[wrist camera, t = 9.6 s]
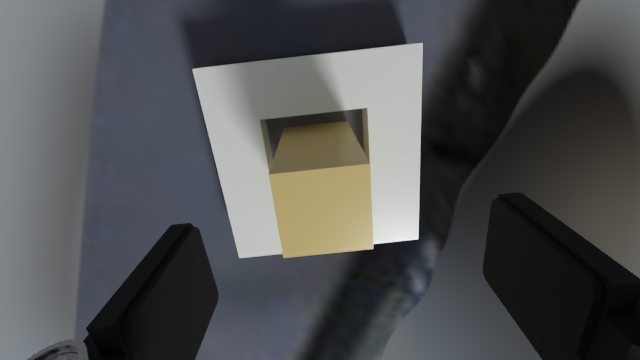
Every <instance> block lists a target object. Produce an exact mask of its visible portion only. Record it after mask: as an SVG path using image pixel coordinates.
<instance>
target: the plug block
mask: <svg viewBox="0 0 640 360" xmlns="http://www.w3.org/2000/svg"><path fill="white" fill-rule="evenodd" d="M269 180H270V185H271V191H272V197H273V202H274V208H275V214H276V219H277V225H278V230H279V236H280V242H281V247H282V253H283V258H289V257H299V256H308V255H318V254H328V253H338V252H348V251H357V250H367V249H374V247H373V221H372V196H371V171H370V162H369V161H368V159H367V157H366V155H365V153H364V151H363V149H362V148H361V146H360V144H359V142H358V140H357V138H356V136H355V134H354V133H353V131H352V129H351V127H350V125H349V123H348V121H342V122H333V123H324V124H314V125H305V126H295V127H286V128H284V130H283V133H282V136H281V139H280V142H279V145H278V148H277V151H276V154H275V157H274V160H273V163H272V166H271V169H270V172H269Z"/></svg>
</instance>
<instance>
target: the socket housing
mask: <svg viewBox="0 0 640 360" xmlns="http://www.w3.org/2000/svg"><path fill="white" fill-rule="evenodd" d="M422 58H423V43H413V44H402V45H394V46H385V47H376V48H367V49H358V50H350V51H341V52H332V53H323V54H314V55H305V56H297V57H288V58H279V59H270V60H261V61H253V62H244V63H235V64H226V65H217V66H208V67H202V68H195V69H192V71H193V75H194V79H195V83H196V87H197V91H198V95H199V99H200V103H201V107H202V111H203V115H204V119H205V123H206V127H207V131H208V135H209V139H210V143H211V147H212V151H213V155H214V159H215V163H216V167H217V171H218V175H219V179H220V183H221V187H222V191H223V195H224V199H225V203H226V207H227V211H228V215H229V219H230V223H231V227H232V231H233V235H234V239H235V243H236V247H237V251H238V255H239V258H247V257H256V256H266V255H275V254H283V253H282V247H281V242H280V236H279V230H278V225H277V219H276V214H275V208H274V202H273V197H272V191H271V185H270V180H269V172H270V169H271V166H272V163H273V160H274V157H275V154H276V151H277V148H278V145H279V142H280V139H281V136H282V133H283V130H284V128H286V127H295V126H305V125H314V124H324V123H333V122H342V121H348V123H349V125H350V127H351V129H352V131H353V133H354V134H355V136H356V138H357V140H358V142H359V144H360V146H361V148H362V149H363V151H364V153H365V155H366V157H367V159H368V161H369V162H370V171H371V196H372V221H373V244H379V243H388V242H398V241H407V240H417V239H418V237H419V192H420V147H421V102H422Z"/></svg>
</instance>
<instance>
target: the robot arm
mask: <svg viewBox="0 0 640 360" xmlns="http://www.w3.org/2000/svg"><path fill="white" fill-rule="evenodd" d="M483 274H484V277H485V279H486V281H487V282H488V284H489V285H490V287H491V288H492V290H493V291H494V292H495V294H496V295H497V297H498V298H499V299H500V301H501V302H502V304H503V305H504V306H505V308H506V309H507V311H508V312H509V313H510V315H511V316H512V318H513V319H514V320H515V322H516V323H517V324H518V326H519V327H520V329H521V330H522V331H523V333H524V334H525V336H526V337H527V339H528V340H529V341H530V343H531V344H532V346H533V347H534V349H535V350H536V351H537V352H538V354H539V355H540V357H541V358H542V360H640V279H639V278H638V277H637V276H635V275H634V274H633V273H631V272H630V271H628V270H627V269H625V268H624V267H623V266H622V265H620V264H619V263H617V262H616V261H615V260H613V259H612V258H611V257H609V256H608V255H606V254H605V253H604V252H602V251H601V250H600V249H598V248H597V247H595V246H594V245H593V244H591V243H590V242H589V241H587V240H586V239H584V238H583V237H582V236H580V235H579V234H578V233H576V232H575V231H573V230H572V229H571V228H569V227H568V226H567V225H565V224H564V223H562V222H561V221H560V220H558V219H557V218H556V217H554V216H553V215H551V214H550V213H549V212H547V211H546V210H544V209H543V208H542V207H540V206H539V205H538V204H536V203H535V202H534V201H532V200H531V199H529V198H528V197H527V196H525V195H524V194H522V193H508V194H500V195H498V197H497V199H494V200H493V201H492V203H491V210H490V217H489V225H488V233H487V240H486V248H485V255H484V263H483ZM217 302H218V290H217V286H216V283H215V280H214V277H213V273H212V270H211V267H210V264H209V260H208V257H207V254H206V250H205V247H204V244H203V241H202V237H201V234H200V231H199V229H198V228H197V227H194V226H193V225H192V224H191V223H186V224H176V225H171V226H170V227H169V228H168V229H167V231H166V232H165V233H164V234H163V235H162V237H161V238H160V239H159V240H158V241H157V243H156V244H155V245H154V246H153V248H152V249H151V250H150V251H149V252H148V254H147V255H146V256H145V257H144V258H143V260H142V261H141V262H140V263H139V265H138V266H137V267H136V268H135V269H134V271H133V272H132V273H131V274H130V276H129V277H128V278H127V279H126V280H125V282H124V283H123V284H122V285H121V286H120V288H119V289H118V290H117V291H116V293H115V294H114V295H113V296H112V297H111V299H110V300H109V301H108V302H107V303H106V305H105V306H104V307H103V308H102V310H101V311H100V312H99V313H98V314H97V316H96V317H95V318H94V319H93V321H92V322H91V323H90V324H89V325H88V327H87V328H86V329H87V331H88V333H89V335H88V336H87V337H86V338H85V340H84V341H83V342H82V341H80V340H78V339H77V340H65V341H61V342H58V343H55V344H53V345H51V346H48V347H46V348H44V349H43V350H41V351H39V352H37V353H36V354H34V355H33V356H32V357H30V358H29V359H27V360H195V358H196V355H197V353H198V350H199V348H200V345H201V343H202V340H203V338H204V335H205V333H206V330H207V327H208V325H209V322H210V320H211V317H212V315H213V312H214V310H215V307H216V305H217Z"/></svg>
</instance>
